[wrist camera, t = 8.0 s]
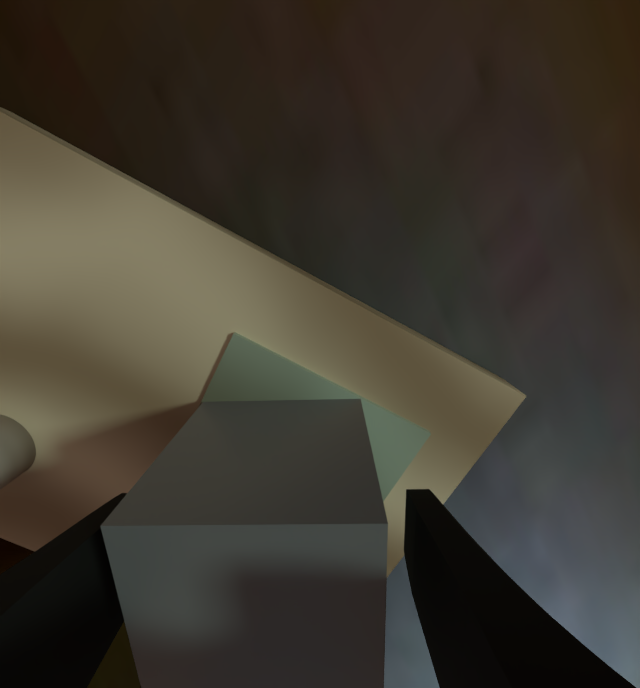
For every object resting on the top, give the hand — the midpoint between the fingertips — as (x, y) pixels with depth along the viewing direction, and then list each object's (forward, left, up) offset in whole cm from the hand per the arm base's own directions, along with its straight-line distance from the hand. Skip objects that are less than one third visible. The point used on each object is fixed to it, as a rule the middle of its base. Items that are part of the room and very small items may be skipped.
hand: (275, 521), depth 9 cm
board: (-1, +4, -4) cm, 5 cm away
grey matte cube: (0, 0, -2) cm, 2 cm away
